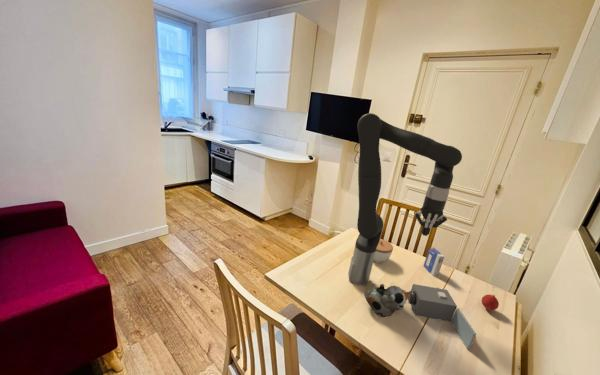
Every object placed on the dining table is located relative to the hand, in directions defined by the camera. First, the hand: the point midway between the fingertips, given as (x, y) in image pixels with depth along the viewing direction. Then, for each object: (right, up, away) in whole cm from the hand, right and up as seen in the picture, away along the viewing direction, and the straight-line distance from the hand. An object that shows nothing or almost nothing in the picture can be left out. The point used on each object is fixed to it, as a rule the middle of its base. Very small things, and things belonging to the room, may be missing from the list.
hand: (424, 234), depth 104 cm
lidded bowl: (-10, -19, +31) cm, 38 cm away
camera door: (+8, -35, -11) cm, 38 cm away
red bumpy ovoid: (+29, -33, +4) cm, 44 cm away
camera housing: (+1, -31, 0) cm, 31 cm away
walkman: (+16, -24, +26) cm, 39 cm away
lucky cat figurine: (-18, -30, -1) cm, 35 cm away
